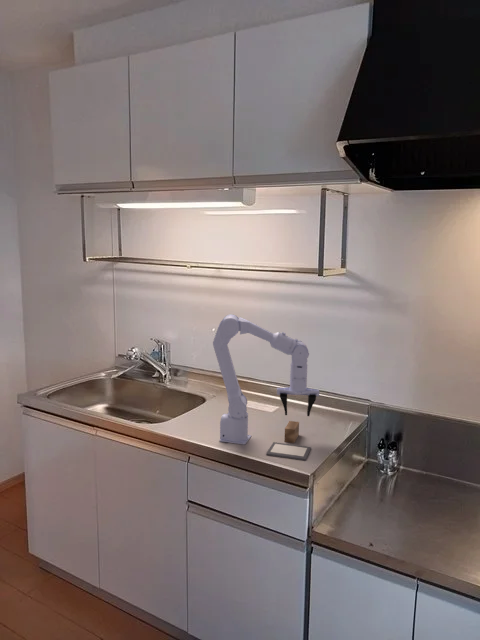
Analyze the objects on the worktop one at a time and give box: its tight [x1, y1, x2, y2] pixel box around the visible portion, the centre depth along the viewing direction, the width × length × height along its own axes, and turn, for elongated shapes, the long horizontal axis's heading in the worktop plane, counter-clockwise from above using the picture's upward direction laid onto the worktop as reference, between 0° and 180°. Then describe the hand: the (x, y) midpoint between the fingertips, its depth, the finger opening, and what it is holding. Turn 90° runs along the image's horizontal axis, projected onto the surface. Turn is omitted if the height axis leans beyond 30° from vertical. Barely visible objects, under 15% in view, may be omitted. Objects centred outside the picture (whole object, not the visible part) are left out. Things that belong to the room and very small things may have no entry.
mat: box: [265, 441, 312, 461], centre depth 171 cm, size 13×10×1 cm
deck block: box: [283, 420, 300, 444], centre depth 183 cm, size 4×8×5 cm, turn 163°
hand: (297, 414), depth 180 cm, fingers open, 7 cm apart
